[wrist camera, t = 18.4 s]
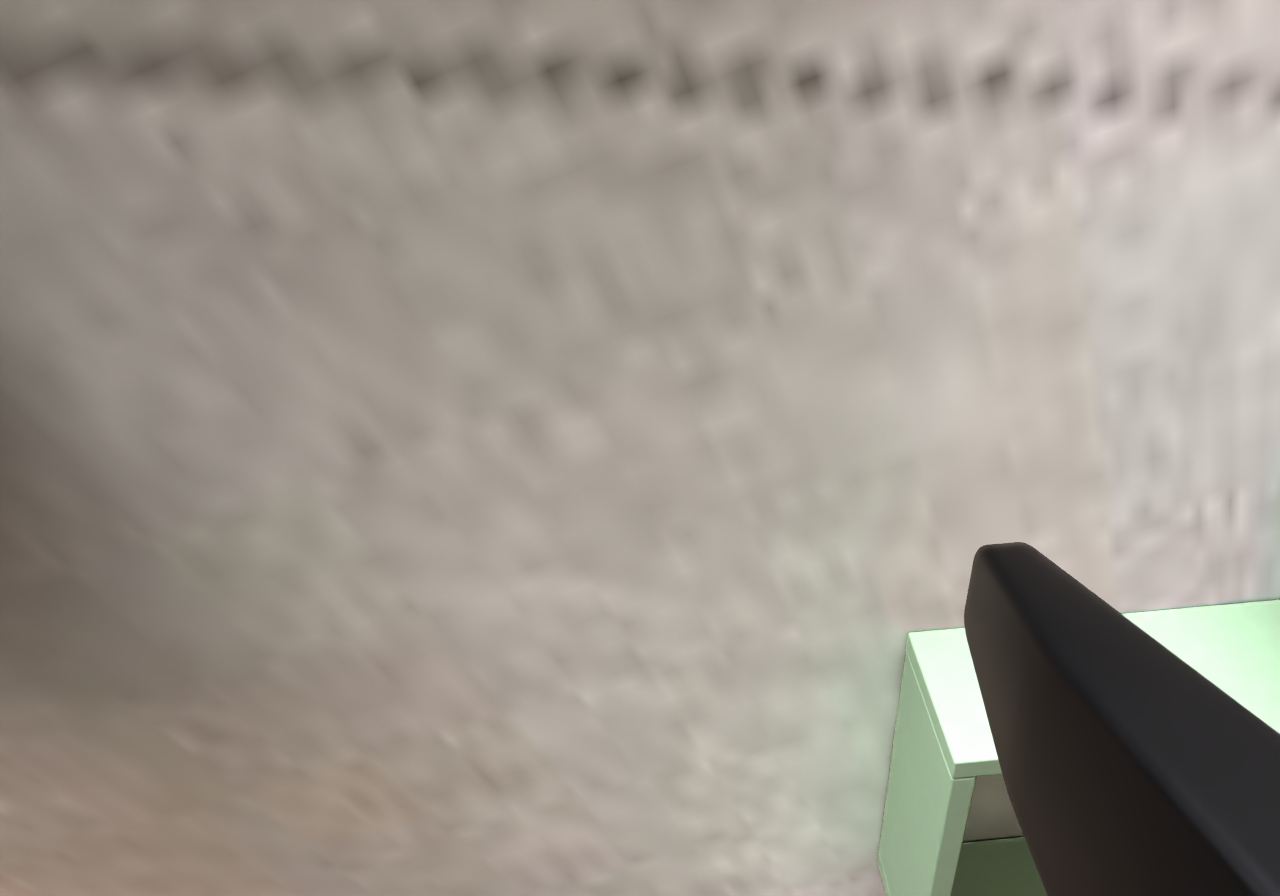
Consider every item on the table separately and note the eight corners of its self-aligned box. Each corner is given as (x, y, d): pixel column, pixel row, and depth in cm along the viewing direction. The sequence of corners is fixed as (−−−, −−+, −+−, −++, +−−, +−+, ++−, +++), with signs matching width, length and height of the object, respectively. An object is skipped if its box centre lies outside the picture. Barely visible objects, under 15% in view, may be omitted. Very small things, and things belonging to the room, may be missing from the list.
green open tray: (876, 860, 34) (910, 989, 31) (907, 632, 28) (954, 763, 25) (1233, 827, 34) (1303, 951, 31) (1342, 593, 28) (1444, 718, 25)
